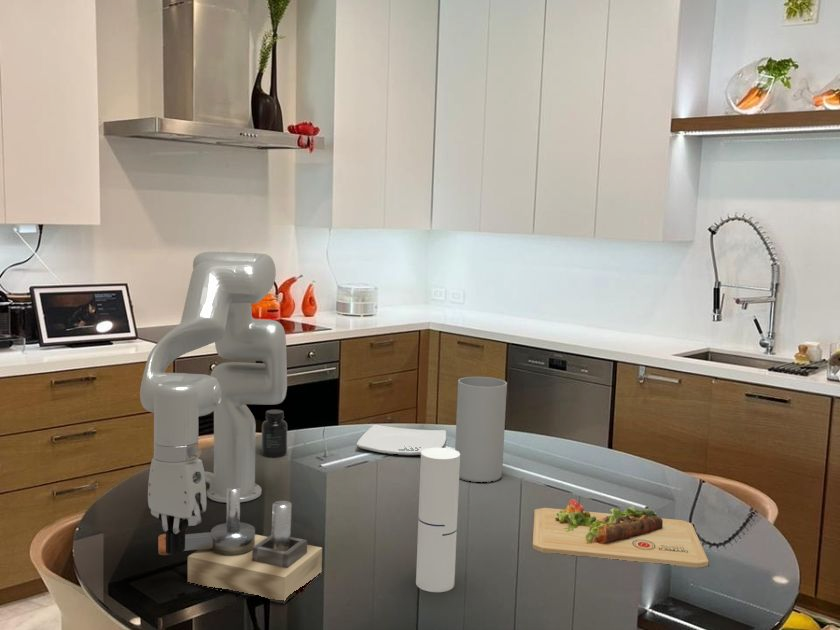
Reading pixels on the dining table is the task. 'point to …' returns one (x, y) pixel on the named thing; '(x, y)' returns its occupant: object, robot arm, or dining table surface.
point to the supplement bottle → (274, 434)
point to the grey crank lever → (221, 532)
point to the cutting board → (617, 536)
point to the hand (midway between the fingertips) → (175, 551)
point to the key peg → (281, 525)
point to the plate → (400, 440)
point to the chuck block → (258, 568)
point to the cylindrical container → (437, 519)
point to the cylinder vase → (480, 428)
